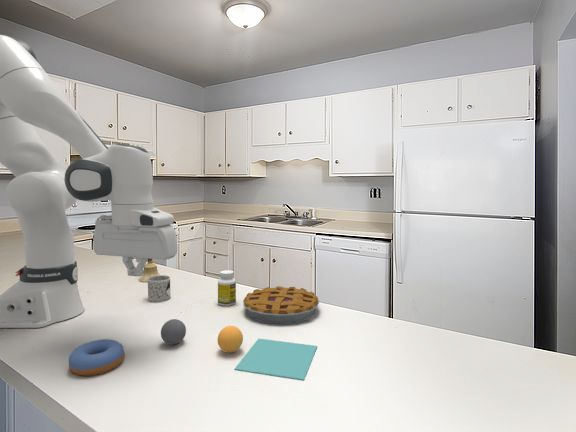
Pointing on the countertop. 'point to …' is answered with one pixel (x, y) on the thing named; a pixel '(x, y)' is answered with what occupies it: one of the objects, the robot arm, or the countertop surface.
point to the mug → (159, 288)
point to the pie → (281, 304)
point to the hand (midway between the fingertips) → (135, 275)
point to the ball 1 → (173, 331)
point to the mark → (278, 359)
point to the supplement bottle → (226, 288)
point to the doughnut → (96, 357)
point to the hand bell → (149, 271)
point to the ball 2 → (230, 339)
